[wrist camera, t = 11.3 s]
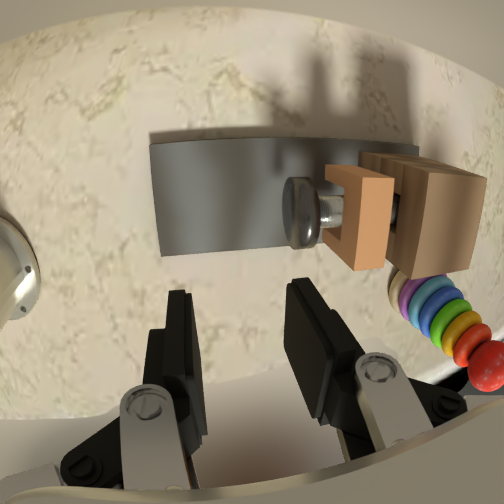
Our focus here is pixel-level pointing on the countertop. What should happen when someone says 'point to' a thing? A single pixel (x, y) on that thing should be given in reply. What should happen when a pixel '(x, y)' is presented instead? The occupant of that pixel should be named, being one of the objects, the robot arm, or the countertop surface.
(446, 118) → the countertop surface
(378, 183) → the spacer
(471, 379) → the stacking toy
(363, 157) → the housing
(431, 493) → the robot arm
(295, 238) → the shaft
